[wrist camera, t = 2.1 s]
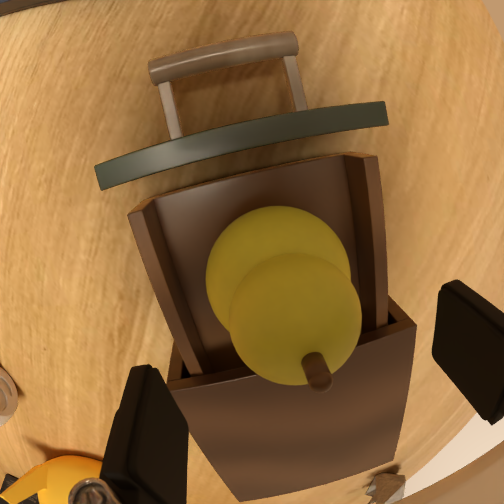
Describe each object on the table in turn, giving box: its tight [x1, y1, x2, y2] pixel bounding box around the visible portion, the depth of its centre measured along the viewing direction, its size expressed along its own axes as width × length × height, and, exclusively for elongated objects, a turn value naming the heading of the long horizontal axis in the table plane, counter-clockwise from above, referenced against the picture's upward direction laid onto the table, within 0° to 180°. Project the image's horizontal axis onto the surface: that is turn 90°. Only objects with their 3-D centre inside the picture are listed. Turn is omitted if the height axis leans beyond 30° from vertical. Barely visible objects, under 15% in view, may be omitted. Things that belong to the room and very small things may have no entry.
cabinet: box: [166, 295, 417, 502], centre depth 22 cm, size 17×15×6 cm
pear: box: [206, 206, 362, 393], centre depth 13 cm, size 7×7×10 cm
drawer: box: [94, 31, 389, 377], centre depth 16 cm, size 20×14×4 cm
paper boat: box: [365, 473, 406, 504], centre depth 31 cm, size 12×6×9 cm
